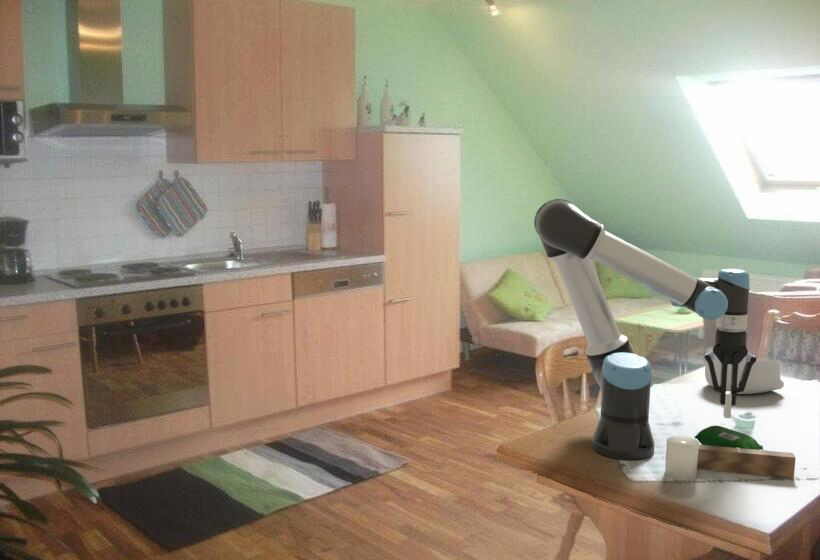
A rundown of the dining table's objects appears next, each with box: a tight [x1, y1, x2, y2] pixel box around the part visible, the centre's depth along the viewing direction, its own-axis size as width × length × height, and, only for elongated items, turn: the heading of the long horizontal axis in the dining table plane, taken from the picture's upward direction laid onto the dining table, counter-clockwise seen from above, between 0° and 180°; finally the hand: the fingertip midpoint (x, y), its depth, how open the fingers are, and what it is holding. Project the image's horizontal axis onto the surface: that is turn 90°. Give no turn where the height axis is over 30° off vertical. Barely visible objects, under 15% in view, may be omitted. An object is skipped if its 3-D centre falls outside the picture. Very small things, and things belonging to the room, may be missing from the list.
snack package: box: [694, 425, 764, 450], centre depth 205 cm, size 7×16×5 cm, turn 34°
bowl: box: [704, 346, 785, 395], centre depth 257 cm, size 20×19×12 cm
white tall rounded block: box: [664, 435, 700, 481], centre depth 190 cm, size 7×7×8 cm
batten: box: [697, 444, 796, 479], centre depth 192 cm, size 22×3×5 cm, turn 76°
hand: (727, 416), depth 216 cm, fingers closed
